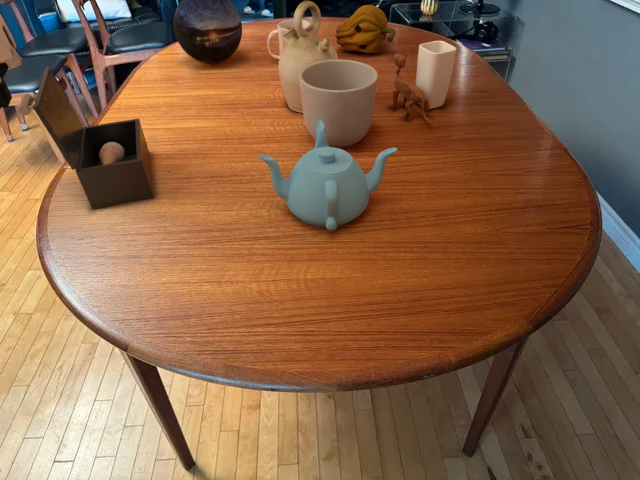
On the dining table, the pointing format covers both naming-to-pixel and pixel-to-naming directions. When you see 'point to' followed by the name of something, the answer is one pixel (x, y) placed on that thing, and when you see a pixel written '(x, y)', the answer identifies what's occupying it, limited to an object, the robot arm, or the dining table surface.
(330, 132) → the planter
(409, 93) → the cat figurine
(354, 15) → the fruit
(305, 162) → the teapot
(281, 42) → the mug
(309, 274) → the dining table surface
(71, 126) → the bin lid
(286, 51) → the jug
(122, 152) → the ice cream cone
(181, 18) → the decorative sphere
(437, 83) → the cup
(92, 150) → the bin
